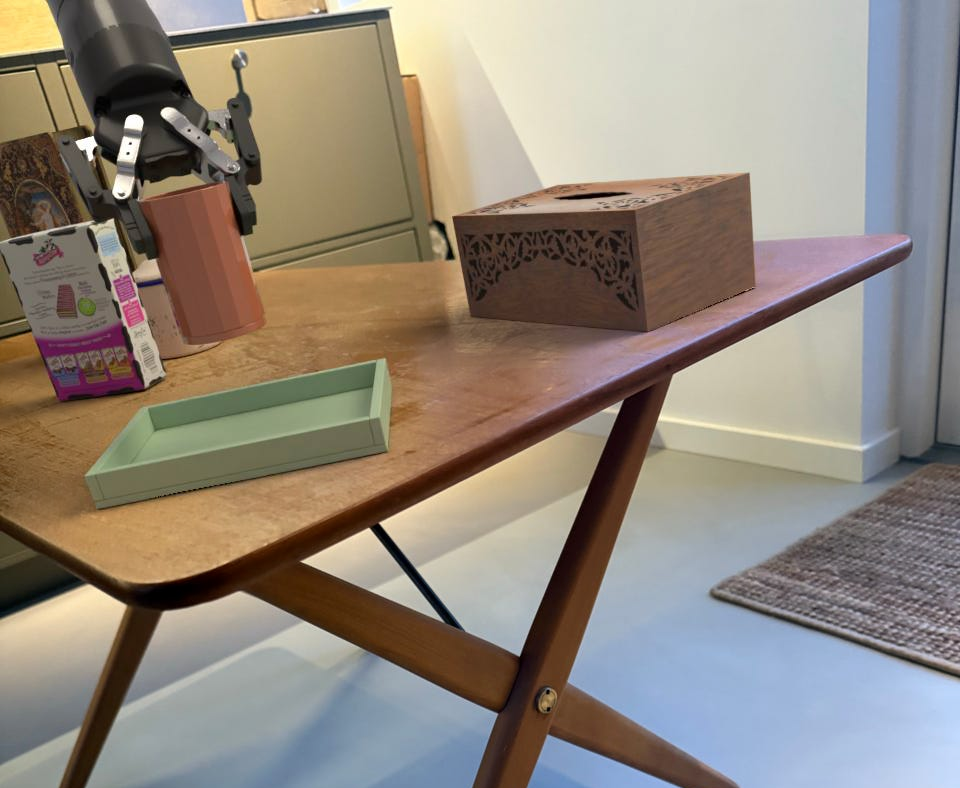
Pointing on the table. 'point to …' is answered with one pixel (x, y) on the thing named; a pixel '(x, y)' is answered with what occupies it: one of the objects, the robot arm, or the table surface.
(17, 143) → the book
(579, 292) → the tissue box cover
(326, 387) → the tray
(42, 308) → the candy bar box
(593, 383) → the table surface
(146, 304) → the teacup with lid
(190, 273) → the cup
